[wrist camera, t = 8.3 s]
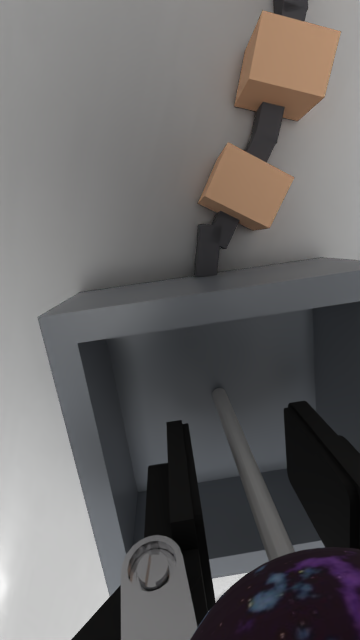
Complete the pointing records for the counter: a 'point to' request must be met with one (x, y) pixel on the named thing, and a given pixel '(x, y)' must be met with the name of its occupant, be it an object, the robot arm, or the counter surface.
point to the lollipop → (282, 572)
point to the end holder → (204, 392)
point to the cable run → (265, 124)
